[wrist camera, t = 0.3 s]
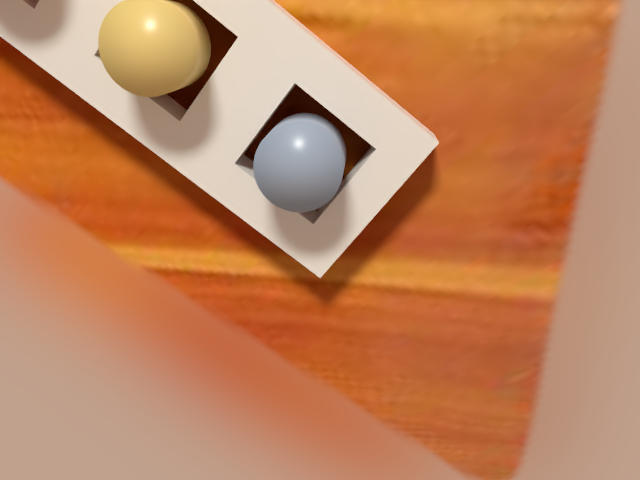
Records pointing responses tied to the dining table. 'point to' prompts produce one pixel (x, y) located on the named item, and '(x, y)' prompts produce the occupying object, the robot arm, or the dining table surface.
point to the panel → (238, 113)
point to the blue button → (300, 162)
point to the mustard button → (153, 46)
